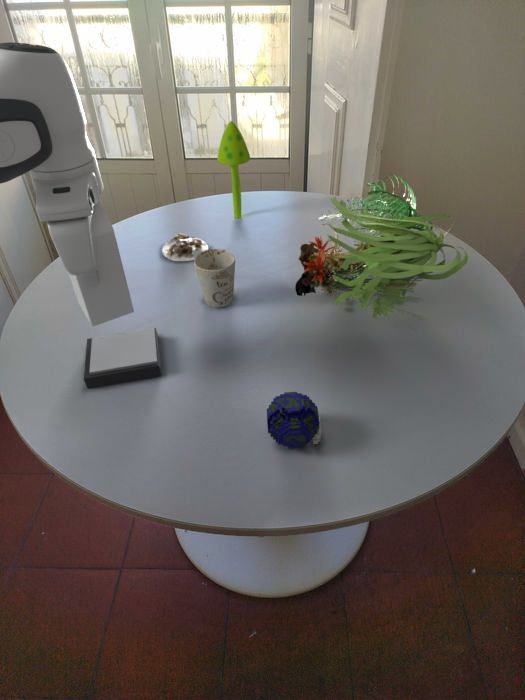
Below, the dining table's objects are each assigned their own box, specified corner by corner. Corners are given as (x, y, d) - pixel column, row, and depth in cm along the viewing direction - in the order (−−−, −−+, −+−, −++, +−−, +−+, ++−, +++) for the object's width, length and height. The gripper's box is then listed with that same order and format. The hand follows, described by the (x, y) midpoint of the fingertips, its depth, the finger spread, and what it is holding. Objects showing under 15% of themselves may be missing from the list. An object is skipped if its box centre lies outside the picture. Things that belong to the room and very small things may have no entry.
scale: (86, 388, 83) (81, 376, 80) (89, 348, 91) (85, 336, 88) (161, 375, 84) (158, 363, 82) (158, 337, 92) (155, 325, 90)
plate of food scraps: (202, 263, 112) (200, 249, 110) (154, 260, 114) (151, 246, 111) (214, 240, 121) (212, 226, 118) (169, 237, 122) (167, 224, 120)
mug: (203, 314, 97) (197, 273, 91) (193, 282, 106) (187, 242, 100) (242, 307, 99) (239, 266, 92) (229, 275, 108) (225, 236, 101)
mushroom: (221, 224, 127) (211, 126, 110) (224, 210, 133) (215, 115, 116) (252, 224, 126) (247, 125, 110) (253, 210, 133) (249, 115, 116)
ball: (315, 414, 77) (317, 382, 71) (322, 453, 71) (324, 421, 66) (266, 417, 76) (265, 385, 71) (269, 456, 71) (268, 424, 66)
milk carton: (79, 306, 80) (42, 198, 67) (119, 292, 83) (91, 187, 70) (92, 327, 75) (56, 217, 63) (134, 312, 78) (107, 204, 65)
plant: (337, 214, 114) (489, 174, 90) (339, 339, 113) (493, 332, 89) (249, 180, 92) (420, 114, 68) (250, 335, 91) (424, 324, 67)
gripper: (52, 157, 71) (79, 238, 81) (33, 216, 56) (69, 308, 66) (95, 152, 72) (116, 234, 82) (87, 209, 57) (115, 301, 67)
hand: (95, 267), depth 74 cm, fingers closed on milk carton, 8 cm apart
